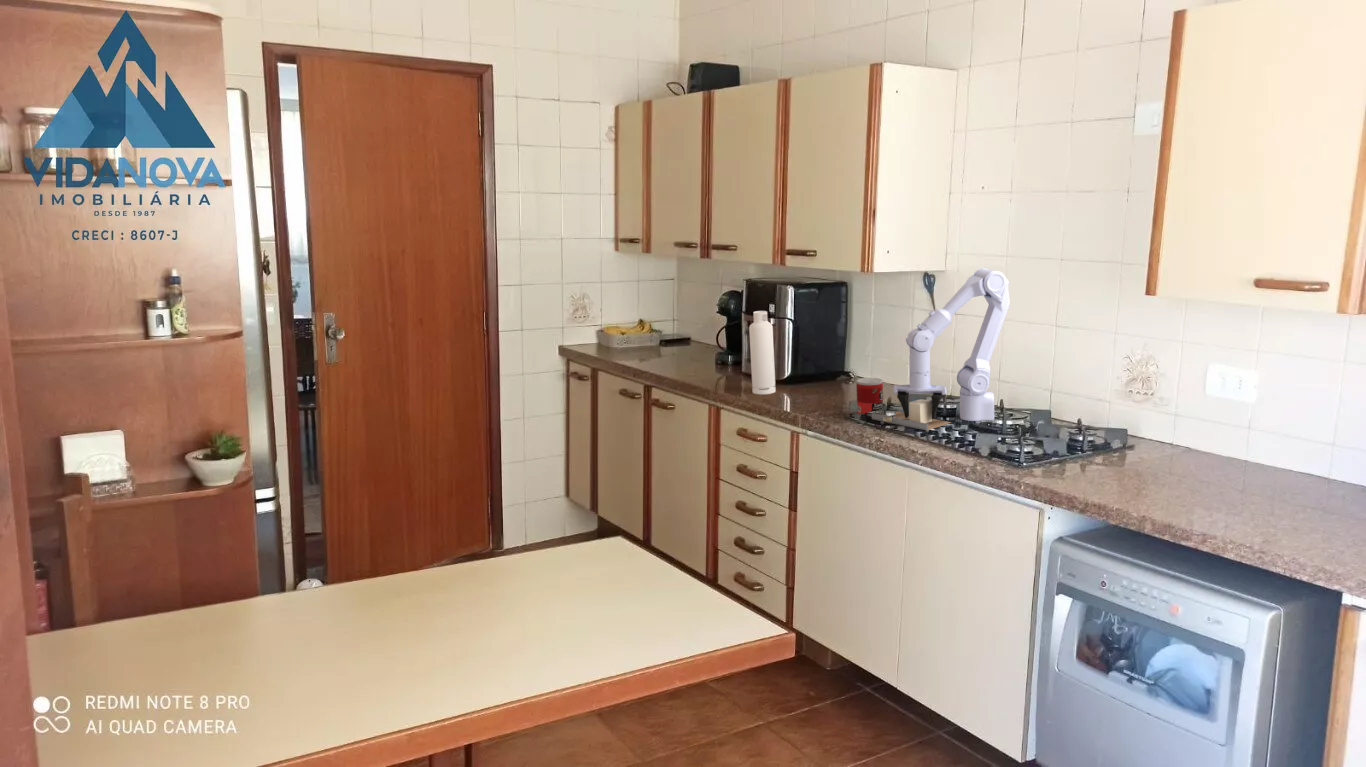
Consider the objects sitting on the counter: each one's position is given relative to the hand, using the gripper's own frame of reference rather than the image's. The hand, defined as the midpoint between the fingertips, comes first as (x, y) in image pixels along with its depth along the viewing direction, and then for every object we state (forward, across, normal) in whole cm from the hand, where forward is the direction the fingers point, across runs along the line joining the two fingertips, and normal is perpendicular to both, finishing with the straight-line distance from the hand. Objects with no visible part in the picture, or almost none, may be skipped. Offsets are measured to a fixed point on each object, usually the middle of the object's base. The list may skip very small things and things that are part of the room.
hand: (920, 417), depth 270 cm
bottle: (+3, +61, -35) cm, 70 cm away
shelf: (+3, +3, -1) cm, 4 cm away
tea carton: (+1, 0, 0) cm, 1 cm away
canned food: (+3, +17, -10) cm, 20 cm away
